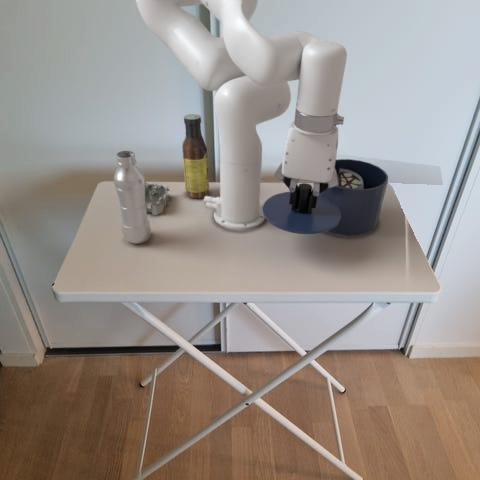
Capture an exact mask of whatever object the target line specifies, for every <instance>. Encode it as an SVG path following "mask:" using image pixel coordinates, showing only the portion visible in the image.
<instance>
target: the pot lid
mask: <svg viewBox="0 0 480 480" xmlns="http://www.w3.org/2000/svg"><path fill="white" fill-rule="evenodd" d="M297 186H298V193H297V201H296V208H295V210H294V211H293V210H291V208H292V205H291V204H289V201H290V193H291V192H290V191H284V192H280V193H276V194H274V195H272V196H270V197H268V198H267V199H266V200H265V202H264V203H263V205H262V209H263V215H264V217H265V220H266V221H267V222H268V223H269V224H271V225H272V226H274V227H276V228H277V229H279V230H282V231H285V232H287V233H288V232H289V233H293V234H298V235H317V234H323V233H326V232H328V231H329V230H331V229H333V228H334V227H336V226H337V225H338V223H339V222H340V219H341V212H340V209H339V208H338V206H337V205H336V204H335V203H333V202H332V201H330V200H329V199H327V198H325V197H323V196H320V195H318V197H317V203H316V208H312V211H311V213H308V206H309V200H310V195H311V192H312V190H313V186H312V185H311V184H310V183H299V184H298V185H297Z"/></svg>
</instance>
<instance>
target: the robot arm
mask: <svg viewBox="0 0 480 480" xmlns="http://www.w3.org/2000/svg"><path fill="white" fill-rule="evenodd" d="M258 2H259V0H135V3H136V6H137V9H138V11H139V14H140V16H141V18H142V20H143V22H144V23H145V25H146V26H147V27H148V29H149V30H150V31H151V32H152V34H154V36H156V38H157V39H158V40H160V42H162V43H163V44H164V45H165V46H166V47H167V48H168V49H169V51H171V53H172V54H173V55H174V56H175V57H176V59H177V60H178V61H179V62H180V64H181V65H182V66H183V67H184V69H185V70H186V71H187V73H189V74H190V76H191V77H192V78H193V79H194V81H196V83H197V84H198V85H199V86H200V87H201V88H202V89H204V90H205V91H208V92H215V91H216V93H215V95H214V100H213V106H214V107H213V108H214V113H215V119H216V123H217V130H218V141H219V142H218V143H219V145H218V147H219V196H217V197H214V196H209V195H207V196H205V197H203V204H204V205H205V209H210V210H214V212H213V218H214V220H215V222H216V223H217V224H218V225H220V226H222V227H224V228H227V229H231V230H240V231H241V230H250V229H254V228H257V227H258V226H261V225H262V224H263V223H264V221H265V220H266V218H265V217H264V215H263V207H261V206H260V202H261V201H260V200H261V183H262V182H261V181H262V163H263V143H262V141H261V138H260V135H259V134H258V131H257V125H260V124H263V123H265V122H268V121H271V120H274V119H276V118H278V117H280V116H282V115H283V114H284V113H286V111H287V110H288V109H289V106H290V105H291V100H292V94H291V89H290V85H289V82H292V81H297V80H298V85H297V86H298V87H297V96H296V104H295V112H294V121H291V123H290V125H289V128H288V132H287V137H286V140H285V145H284V149H283V150H284V151H283V157H282V161H281V162H280V164H279V166H278V167H277V168H276V170H275V172H274V177H276V178H277V179H279V180H280V181H282V182H283V184H284V185H285V186H286V187H287V189H288V192H291V193H290V201H289V204H291V205H292V208H291V210H293V211H294V210H295V208H296V201H297V193H298V186H299V185H298V183H299V180H300V181H306V182H307V181H308V182H312V183H313V186H312V191H311V195H310V200H309V206H308V213H311V211H312V208H316V203H317V197H318V195H319V194H320V193H322V192H323V191H325V190H326V189H327V188H331V187H334V186H337V185H338V183H339V179H338V176H337V173H336V170H335V162H336V160H337V154H338V146H339V127H338V126H339V125H341V126H342V125H344V121H345V116H341V115H339V113H338V109H339V104H340V98H341V93H342V86H343V82H344V75H345V70H346V65H347V57H348V52H347V49H346V48H345V46H344V45H342V44H340V43H338V42H334V41H328V40H322V39H321V38H318V37H317V36H315V35H313V34H311V32H310V33H309V32H307V31H302V30H300V31H299V30H297V31H291V32H286V33H279V34H274V35H270V36H264V35H263V34H262V33H261V32H260V31H259V30H258V29H257V28H256V27H255V26H254V25H253V24H252V23H251V22H250V21H251V19H252V17H253V15H254V14H255V11H256V10H257V6H258ZM199 5H203V6H204V7H205V8H206V9H207V10H208V11H209V12H210V13H211V14H212V15H213V16H214V17H215V19H217V20H218V21H219V22H220V24H221V25H222V37H220V36H219V37H218V36H215V35H214V34H213V33H211V32H210V31H209V30H208V28H206V26H205V25H204V23H203V22H202V21H201V20H200V19H199V18H198V17H196V15H193V14H191V13H190V12H189V11H186V10H185V9H183V8H185V7H193V6H199Z"/></svg>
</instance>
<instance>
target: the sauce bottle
mask: <svg viewBox="0 0 480 480" xmlns="http://www.w3.org/2000/svg"><path fill="white" fill-rule="evenodd" d="M183 122H184V126H185V137H184V139H183V142H182V147H181V148H182V149H181V150H182V163H183V164H182V165H183V174H184V187H185V188H184V189H185V192H186V195H187V196H188V197H189V198H191V199H201V198H203V199H204V197H205V196H209V191H210V190H209V189H210V179H209V177H210V176H209V161H208V160H209V159H208V148H207V145H206V142H205V139H204V137H203V134H202V126H201V124H202V116H201V115H200V114H196V113H190V114H186V115H184V117H183Z"/></svg>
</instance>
